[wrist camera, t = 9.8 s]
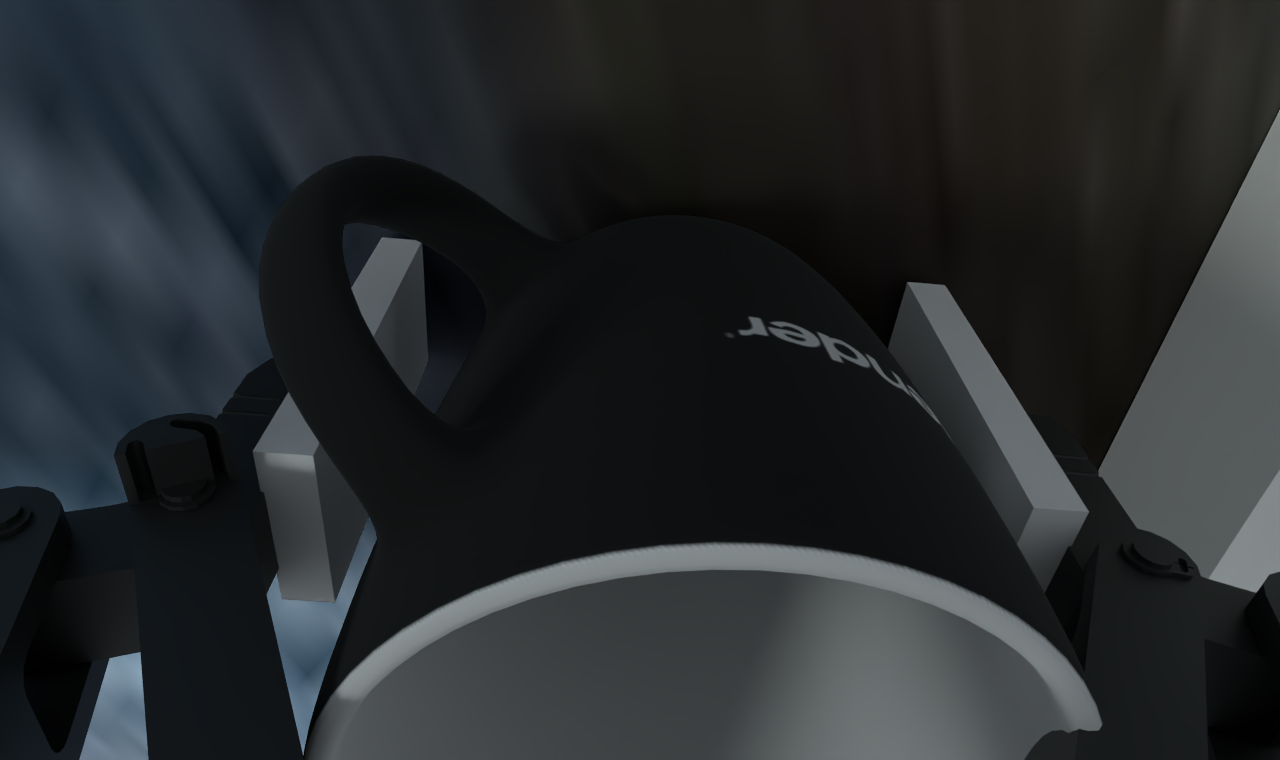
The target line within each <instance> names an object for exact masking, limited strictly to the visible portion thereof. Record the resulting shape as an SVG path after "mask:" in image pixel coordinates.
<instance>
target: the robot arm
mask: <svg viewBox="0 0 1280 760" xmlns="http://www.w3.org/2000/svg"><path fill="white" fill-rule="evenodd" d="M351 289H352V291H353V294H354V296H355V299H356V301H357V304H358V307H359V309H360V312H361V314H362V316H363V318H364V320H365V322H366V324H367V326H368V328H369V329H370V331H371V333H372V335H373V337H374V339H375V341H376V342H377V344H378V346H379V347H380V349H381V350H382V352H383V353H384V355H385V357H386V358H387V360H388V361H389V363H390V364H391V366H392V367H393V369H394V370H395V371H396V373H397V374H398V375H399V377H400V378H401V380H402V381H403V382H404V384H405V385H406V386H407V388H408V389H409V390H410V391H411V392H412V393H413V395H414V396H415V394H416V391H417V389H418V386H419V383H420V381H421V378H422V376H423V373H424V370H425V368H426V365H427V363H428V347H427V327H426V308H425V288H424V269H423V249H422V243H420V242H419V241H417V240H408V239H396V238H385V237H382V238H381V240H380V241H379V243H378V245H377V246H376V248H375V250H374V251H373V253H372V255H371V256H370V258H369V260H368V261H367V263H366V265H365V266H364V268H363V270H362V271H361V273H360V275H359V276H358V278H357V280H356V281H355V283H354V284H353V286H352V288H351ZM888 350H889V352H890V353H891V354H892V356H893V357H894V358H895V360H896V361H897V362H898V364H899V365H900V366H901V368H902V369H903V371H904V372H905V373H906V375H907V376H908V378H909V379H910V380H911V382H912V383H913V385H914V386H915V387H916V389H917V390H918V392H919V393H920V394H921V396H922V397H923V398H924V400H925V401H926V403H927V404H928V406H929V407H930V409H931V410H932V411H933V413H934V414H935V416H936V417H937V419H938V420H939V422H940V423H941V425H942V426H943V427H944V429H945V430H946V432H947V433H948V435H949V436H950V438H951V439H952V441H953V442H954V444H955V445H956V447H957V448H958V450H959V451H960V453H961V454H962V456H963V457H964V459H965V460H966V462H967V464H968V465H969V467H970V468H971V470H972V471H973V473H974V475H975V476H976V478H977V479H978V481H979V482H980V484H981V486H982V487H983V489H984V490H985V492H986V494H987V495H988V497H989V499H990V500H991V502H992V503H993V505H994V507H995V508H996V510H997V512H998V513H999V515H1000V517H1001V518H1002V520H1003V522H1004V523H1005V525H1006V527H1007V528H1008V530H1009V532H1010V533H1011V535H1012V537H1013V538H1014V540H1015V542H1016V544H1017V545H1018V547H1019V549H1020V551H1021V552H1022V554H1023V556H1024V557H1025V559H1026V561H1027V563H1028V564H1029V566H1030V568H1031V570H1032V571H1033V573H1034V575H1035V577H1036V579H1037V580H1038V582H1039V584H1040V586H1041V588H1042V589H1043V591H1044V593H1045V595H1046V597H1047V599H1048V600H1049V602H1050V604H1051V606H1052V608H1053V610H1054V612H1055V614H1056V616H1057V618H1058V620H1059V622H1060V624H1061V625H1062V627H1063V629H1064V631H1065V633H1066V635H1067V637H1068V639H1069V641H1070V643H1071V645H1072V647H1073V649H1074V651H1075V653H1076V655H1077V657H1078V659H1079V662H1080V664H1081V666H1082V668H1083V670H1084V672H1085V675H1086V677H1087V679H1088V681H1089V683H1090V685H1091V688H1092V691H1093V694H1094V697H1095V700H1096V704H1097V707H1098V710H1099V713H1100V717H1101V720H1102V723H1103V724H1102V726H1101V728H1100V729H1099V731H1087V730H1082V729H1078V730H1075V731H1072V732H1070V733H1068V732H1065V731H1063V730H1057V731H1053V730H1052V731H1051V732H1049V733H1047V734H1045V735H1044V736H1042V737H1041V738H1040V740H1039V741H1038V742H1037V743H1036V744H1035V745H1034V746H1033V747H1032V749H1031V750H1030V752H1029V753H1028V755H1027V756H1026V758H1025V759H1024V760H1280V572H1277V573H1273V574H1269V576H1268V577H1267V579H1266V580H1265V581H1264V583H1263V584H1262V586H1261V587H1260V589H1259V590H1258V591H1257V593H1255V592H1252V591H1248V590H1245V589H1241V588H1238V587H1234V586H1231V585H1228V584H1224V583H1221V582H1217V581H1214V580H1210V579H1207V578H1204V577H1202V576H1201V575H1200V572H1199V569H1198V566H1197V565H1196V564H1195V563H1194V561H1193V560H1192V559H1191V558H1190V557H1189V556H1188V554H1187V553H1186V552H1184V551H1183V550H1182V549H1180V548H1179V547H1178V546H1176V545H1175V544H1173V543H1172V542H1171V541H1169V540H1167V539H1165V538H1163V537H1161V536H1158V535H1156V534H1154V533H1152V532H1149V531H1145V530H1141V529H1137V527H1136V526H1135V524H1134V523H1133V522H1132V520H1131V519H1130V517H1129V516H1128V514H1127V513H1126V511H1125V510H1124V508H1123V507H1122V506H1121V504H1120V503H1119V501H1118V500H1117V498H1116V497H1115V495H1114V494H1113V492H1112V491H1111V490H1110V488H1109V487H1108V485H1107V484H1106V482H1105V481H1104V479H1103V478H1102V477H1099V472H1098V471H1097V469H1096V468H1095V466H1094V465H1093V463H1092V462H1091V460H1087V457H1088V456H1087V455H1086V453H1085V452H1084V450H1083V449H1082V447H1081V446H1080V444H1079V443H1078V442H1077V440H1076V439H1075V437H1074V436H1073V435H1072V434H1071V433H1069V432H1068V431H1067V430H1066V429H1064V428H1063V427H1062V426H1061V425H1059V424H1058V423H1057V422H1056V421H1054V420H1053V419H1052V418H1050V417H1047V416H1034V415H1027V413H1026V412H1025V410H1024V409H1023V407H1022V406H1021V404H1020V402H1019V401H1018V399H1017V398H1016V396H1015V395H1014V393H1013V391H1012V390H1011V388H1010V387H1009V385H1008V384H1007V382H1006V380H1005V379H1004V377H1003V376H1002V374H1001V372H1000V371H999V369H998V368H997V366H996V365H995V363H994V361H993V360H992V358H991V357H990V355H989V354H988V352H987V350H986V349H985V347H984V346H983V344H982V343H981V341H980V339H979V338H978V336H977V335H976V333H975V332H974V330H973V328H972V327H971V325H970V324H969V322H968V320H967V319H966V317H965V316H964V314H963V313H962V311H961V309H960V308H959V306H958V305H957V303H956V302H955V300H954V298H953V297H952V295H951V294H950V292H949V291H948V289H947V287H946V286H945V285H937V284H926V283H914V282H907V285H906V288H905V292H904V295H903V298H902V302H901V305H900V309H899V312H898V315H897V319H896V322H895V326H894V329H893V332H892V336H891V339H890V343H889V346H888ZM114 458H115V461H116V464H117V467H118V470H119V474H120V477H121V480H122V483H123V486H124V490H125V493H126V496H127V499H128V502H126V503H121V504H116V505H112V506H105V507H98V508H91V509H84V510H77V511H70V512H64V510H63V507H62V504H61V502H60V501H59V499H58V498H57V497H56V496H55V494H54V493H53V492H50V491H47V490H45V489H42V488H39V487H23V486H16V487H10V488H5V489H0V760H79V758H80V755H81V752H82V748H83V745H84V742H85V738H86V735H87V732H88V728H89V725H90V722H91V718H92V715H93V711H94V708H95V705H96V701H97V698H98V695H99V691H100V688H101V685H102V681H103V678H104V675H105V671H106V668H107V665H108V661H109V658H112V657H117V656H122V655H127V654H132V653H137V652H141V664H142V677H143V691H144V704H145V717H146V730H147V744H148V757H149V760H304V757H303V753H302V749H301V744H300V740H299V736H298V731H297V727H296V722H295V718H294V714H293V709H292V705H291V700H290V696H289V692H288V687H287V683H286V679H285V674H284V670H283V665H282V661H281V657H280V652H279V648H278V644H277V639H276V635H275V630H274V626H273V622H272V617H271V613H270V608H269V604H268V600H267V595H266V594H267V592H268V590H269V588H270V586H271V584H272V582H273V579H274V577H275V575H276V573H277V577H278V582H279V587H280V592H281V597H282V599H287V600H303V601H319V602H334V603H335V601H336V599H337V596H338V593H339V591H340V588H341V586H342V583H343V580H344V578H345V575H346V573H347V570H348V567H349V565H350V562H351V560H352V557H353V555H354V552H355V549H356V547H357V544H358V542H359V539H360V536H361V534H362V531H363V529H364V526H365V523H366V521H367V518H368V516H369V515H368V513H367V512H366V510H365V509H364V507H363V505H362V504H361V502H360V501H359V499H358V497H357V496H356V495H355V493H354V492H353V490H352V489H351V487H350V486H349V485H348V483H347V482H346V480H345V479H344V477H343V476H342V475H341V473H340V472H339V470H338V469H337V468H336V466H335V465H334V463H333V462H332V460H331V459H330V458H329V456H328V455H327V453H326V452H325V450H324V449H323V447H322V446H321V444H320V443H319V441H318V440H317V438H316V437H315V435H314V434H313V432H312V431H311V429H310V428H309V426H308V425H307V423H306V422H305V420H304V418H303V416H302V415H301V413H300V411H299V410H298V408H297V406H296V405H295V403H294V401H293V399H292V398H291V396H290V394H289V392H288V390H287V388H286V386H285V383H284V381H283V379H282V377H281V375H280V373H279V371H278V369H277V366H276V364H275V361H274V358H271V359H270V360H268V361H267V362H265V363H264V364H262V365H261V366H259V367H258V368H256V369H255V370H253V371H252V372H250V373H248V374H247V375H246V377H245V378H244V380H243V381H242V382H241V384H240V385H239V387H238V388H237V390H236V391H235V392H234V396H233V398H230V400H229V401H228V403H227V404H226V405H225V407H224V408H223V412H222V414H219V415H218V417H217V418H216V419H215V418H213V417H211V416H208V415H201V414H193V413H187V414H176V415H168V416H164V417H161V418H158V419H154V420H151V421H148V422H146V423H144V424H142V425H140V426H138V427H136V428H135V429H133V430H131V431H129V432H128V433H127V434H126V435H125V436H124V437H123V438H122V439H121V440H120V441H119V442H118V444H117V448H116V451H115V454H114Z"/></svg>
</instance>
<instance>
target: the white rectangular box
mask: <svg viewBox="0 0 1280 760" xmlns="http://www.w3.org/2000/svg"><path fill="white" fill-rule="evenodd" d="M1098 472H1099V477H1102V478H1103V479H1104V481H1105V482H1106V484H1107V485H1108V487H1109V488H1110V490H1111V491H1112V492H1113V494H1114V495H1115V497H1116V498H1117V500H1118V501H1119V503H1120V504H1121V506H1122V507H1123V508H1124V510H1125V511H1126V513H1127V514H1128V516H1129V517H1130V519H1131V520H1132V522H1133V523H1134V524H1135V526H1136V527H1137V529H1141V530H1145V531H1149V532H1152V533H1154V534H1156V535H1158V536H1161V537H1163V538H1165V539H1167V540H1169V541H1171V542H1172V543H1173V544H1175V545H1176V546H1178V547H1179V548H1180V549H1182V550H1183V551H1184V552H1186V553H1187V554H1188V556H1189V557H1190V558H1191V559H1192V560H1193V561H1194V563H1195V564H1196V565H1197V566H1198V569H1199V572H1200V575H1201V576H1202V577H1204V578H1207V579H1210V580H1214V581H1217V582H1221V583H1224V584H1228V585H1231V586H1234V587H1238V588H1241V589H1245V590H1248V591H1252V592H1255V593H1257V591H1258V590H1259V589H1260V587H1261V586H1262V584H1263V583H1264V581H1265V580H1266V579H1267V577H1268V576H1269V574H1273V573H1277V572H1280V110H1279V112H1278V114H1277V116H1276V118H1275V120H1274V122H1273V124H1272V126H1271V128H1270V130H1269V132H1268V134H1267V136H1266V138H1265V140H1264V142H1263V144H1262V146H1261V148H1260V150H1259V152H1258V154H1257V156H1256V158H1255V160H1254V162H1253V164H1252V166H1251V168H1250V170H1249V172H1248V174H1247V176H1246V178H1245V180H1244V182H1243V184H1242V186H1241V188H1240V190H1239V192H1238V194H1237V196H1236V198H1235V200H1234V202H1233V204H1232V206H1231V208H1230V210H1229V212H1228V214H1227V216H1226V218H1225V220H1224V222H1223V224H1222V226H1221V228H1220V230H1219V232H1218V234H1217V236H1216V238H1215V240H1214V242H1213V244H1212V246H1211V248H1210V250H1209V252H1208V254H1207V256H1206V258H1205V260H1204V262H1203V264H1202V266H1201V268H1200V269H1199V271H1198V273H1197V275H1196V277H1195V279H1194V281H1193V283H1192V285H1191V287H1190V289H1189V291H1188V293H1187V295H1186V297H1185V299H1184V301H1183V303H1182V305H1181V307H1180V309H1179V311H1178V313H1177V315H1176V317H1175V319H1174V321H1173V323H1172V325H1171V327H1170V329H1169V331H1168V333H1167V335H1166V337H1165V339H1164V341H1163V343H1162V345H1161V347H1160V349H1159V351H1158V353H1157V355H1156V357H1155V359H1154V361H1153V363H1152V365H1151V367H1150V369H1149V371H1148V373H1147V375H1146V377H1145V379H1144V381H1143V383H1142V385H1141V387H1140V389H1139V391H1138V393H1137V395H1136V397H1135V399H1134V401H1133V403H1132V405H1131V407H1130V409H1129V411H1128V413H1127V415H1126V417H1125V419H1124V421H1123V423H1122V425H1121V427H1120V429H1119V431H1118V433H1117V435H1116V437H1115V438H1114V440H1113V442H1112V444H1111V446H1110V448H1109V450H1108V452H1107V454H1106V456H1105V458H1104V460H1103V462H1102V464H1101V466H1100V468H1099V470H1098Z"/></svg>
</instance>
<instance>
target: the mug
mask: <svg viewBox="0 0 1280 760" xmlns="http://www.w3.org/2000/svg"><path fill="white" fill-rule="evenodd" d="M349 223H365V224H371V225H376V226H380V227H383V228H387V229H390V230H393V231H396V232H399V233H401V234H403V235H406V236H408V237H410V238H413V239H415V240H417V241H419V242H420V243H422V244H424V245H426V246H428V247H430V248H432V249H433V250H435V251H437V252H438V253H440V254H441V255H443V256H444V257H446V258H448V259H449V260H450V261H452V262H453V263H454V264H455V265H457V266H458V267H459V268H461V269H462V270H463V271H464V272H465V273H466V274H467V275H468V276H469V277H470V278H471V280H472V281H473V282H474V284H475V285H476V287H477V288H478V290H479V292H480V294H481V296H482V298H483V300H484V303H485V307H486V320H485V324H484V328H483V330H482V332H481V334H480V336H479V338H478V340H477V341H476V343H475V345H474V347H473V348H472V350H471V351H470V353H469V355H468V357H467V358H466V360H465V362H464V363H463V365H462V367H461V369H460V370H459V372H458V374H457V376H456V377H455V379H454V381H453V383H452V385H451V387H450V388H449V390H448V392H447V394H446V396H445V398H444V399H443V401H442V403H441V405H440V407H439V409H438V411H437V413H436V414H435V415H434V414H433V413H432V412H430V411H429V410H427V408H426V407H425V406H424V405H423V404H422V403H421V402H420V401H419V400H418V399H417V398H416V397H415V396H414V395H413V393H412V392H411V391H410V390H409V389H408V388H407V386H406V385H405V384H404V382H403V381H402V380H401V378H400V377H399V375H398V374H397V373H396V371H395V370H394V369H393V367H392V366H391V364H390V363H389V361H388V360H387V358H386V357H385V355H384V353H383V352H382V350H381V349H380V347H379V346H378V344H377V342H376V341H375V339H374V337H373V335H372V333H371V331H370V329H369V328H368V326H367V324H366V322H365V320H364V318H363V316H362V314H361V312H360V309H359V307H358V304H357V301H356V299H355V296H354V294H353V291H352V289H351V286H350V282H349V278H348V274H347V271H346V267H345V263H344V257H343V249H342V235H343V229H344V225H345V224H349ZM259 298H260V304H261V310H262V315H263V321H264V326H265V331H266V336H267V339H268V342H269V345H270V349H271V352H272V355H273V358H274V361H275V364H276V366H277V369H278V371H279V373H280V375H281V377H282V379H283V381H284V383H285V386H286V388H287V390H288V392H289V394H290V396H291V398H292V399H293V401H294V403H295V405H296V406H297V408H298V410H299V411H300V413H301V415H302V416H303V418H304V420H305V422H306V423H307V425H308V426H309V428H310V429H311V431H312V432H313V434H314V435H315V437H316V438H317V440H318V441H319V443H320V444H321V446H322V447H323V449H324V450H325V452H326V453H327V455H328V456H329V458H330V459H331V460H332V462H333V463H334V465H335V466H336V468H337V469H338V470H339V472H340V473H341V475H342V476H343V477H344V479H345V480H346V482H347V483H348V485H349V486H350V487H351V489H352V490H353V492H354V493H355V495H356V496H357V497H358V499H359V501H360V502H361V504H362V505H363V507H364V509H365V510H366V512H367V513H368V515H369V517H370V519H371V521H372V523H373V526H374V528H375V531H376V536H377V540H376V543H375V545H374V547H373V549H372V552H371V554H370V557H369V559H368V562H367V564H366V566H365V569H364V571H363V574H362V576H361V579H360V581H359V584H358V586H357V589H356V591H355V594H354V597H353V599H352V602H351V604H350V607H349V610H348V613H347V615H346V618H345V621H344V623H343V626H342V629H341V631H340V634H339V637H338V640H337V642H336V645H335V648H334V650H333V653H332V656H331V658H330V661H329V664H328V667H327V670H326V673H325V676H324V679H323V682H322V685H321V688H320V692H319V695H318V698H317V701H316V705H315V708H314V712H313V715H312V719H311V722H310V726H309V730H308V735H307V740H306V744H305V749H304V756H303V757H304V760H1024V759H1025V758H1026V756H1027V755H1028V753H1029V752H1030V750H1031V749H1032V747H1033V746H1034V745H1035V744H1036V743H1037V742H1038V741H1039V740H1040V738H1041V737H1042V736H1044V735H1045V734H1047V733H1049V732H1051V731H1052V730H1053V731H1057V730H1063V731H1065V732H1068V733H1070V732H1072V731H1075V730H1078V729H1082V730H1087V731H1099V729H1100V728H1101V726H1102V724H1103V723H1102V720H1101V717H1100V713H1099V710H1098V707H1097V704H1096V700H1095V697H1094V694H1093V691H1092V688H1091V685H1090V683H1089V681H1088V679H1087V677H1086V675H1085V672H1084V670H1083V668H1082V666H1081V664H1080V662H1079V659H1078V657H1077V655H1076V653H1075V651H1074V649H1073V647H1072V645H1071V643H1070V641H1069V639H1068V637H1067V635H1066V633H1065V631H1064V629H1063V627H1062V625H1061V624H1060V622H1059V620H1058V618H1057V616H1056V614H1055V612H1054V610H1053V608H1052V606H1051V604H1050V602H1049V600H1048V599H1047V597H1046V595H1045V593H1044V591H1043V589H1042V588H1041V586H1040V584H1039V582H1038V580H1037V579H1036V577H1035V575H1034V573H1033V571H1032V570H1031V568H1030V566H1029V564H1028V563H1027V561H1026V559H1025V557H1024V556H1023V554H1022V552H1021V551H1020V549H1019V547H1018V545H1017V544H1016V542H1015V540H1014V538H1013V537H1012V535H1011V533H1010V532H1009V530H1008V528H1007V527H1006V525H1005V523H1004V522H1003V520H1002V518H1001V517H1000V515H999V513H998V512H997V510H996V508H995V507H994V505H993V503H992V502H991V500H990V499H989V497H988V495H987V494H986V492H985V490H984V489H983V487H982V486H981V484H980V482H979V481H978V479H977V478H976V476H975V475H974V473H973V471H972V470H971V468H970V467H969V465H968V464H967V462H966V460H965V459H964V457H963V456H962V454H961V453H960V451H959V450H958V448H957V447H956V445H955V444H954V442H953V441H952V439H951V438H950V436H949V435H948V433H947V432H946V430H945V429H944V427H943V426H942V425H941V423H940V422H939V420H938V419H937V417H936V416H935V414H934V413H933V411H932V410H931V409H930V407H929V406H928V404H927V403H926V401H925V400H924V398H923V397H922V396H921V394H920V393H919V392H918V390H917V389H916V387H915V386H914V385H913V383H912V382H911V380H910V379H909V378H908V376H907V375H906V373H905V372H904V371H903V369H902V368H901V366H900V365H899V364H898V362H897V361H896V360H895V358H894V357H893V356H892V354H891V353H890V352H889V350H888V349H887V348H886V346H885V345H884V344H883V343H882V341H881V340H880V339H879V338H878V336H877V335H876V334H875V333H874V332H873V330H872V329H871V328H870V327H869V326H868V324H867V323H866V322H865V321H864V320H863V319H862V317H861V316H860V315H859V314H858V313H857V312H856V311H855V310H854V308H853V307H852V306H851V305H850V304H849V303H848V302H847V301H846V300H845V299H844V298H843V296H842V295H841V294H840V293H839V292H838V291H837V290H836V289H835V288H834V287H833V286H832V285H831V284H830V283H829V282H828V281H826V280H825V279H824V278H823V277H822V276H821V275H820V274H819V273H818V272H816V271H815V270H814V269H813V268H812V267H811V266H810V265H808V264H807V263H806V262H805V261H803V260H802V259H801V258H799V257H798V256H797V255H795V254H794V253H792V252H791V251H789V250H788V249H787V248H785V247H783V246H782V245H780V244H778V243H776V242H774V241H773V240H771V239H769V238H767V237H765V236H764V235H761V234H759V233H757V232H754V231H752V230H750V229H747V228H745V227H742V226H738V225H735V224H732V223H729V222H725V221H721V220H716V219H711V218H706V217H698V216H689V215H662V216H649V217H643V218H637V219H631V220H627V221H623V222H619V223H616V224H612V225H610V226H607V227H604V228H601V229H598V230H596V231H594V232H591V233H589V234H587V235H585V236H583V237H581V238H578V239H577V240H575V241H573V242H570V243H568V244H563V243H557V242H554V241H551V240H548V239H546V238H544V237H541V236H539V235H537V234H535V233H534V232H532V231H530V230H528V229H526V228H525V227H523V226H522V225H520V224H519V223H517V222H515V221H514V220H512V219H511V218H509V217H508V216H507V215H505V214H504V213H502V212H501V211H500V210H498V209H497V208H495V207H494V206H493V205H491V204H490V203H488V202H487V201H485V200H484V199H483V198H481V197H480V196H478V195H477V194H475V193H474V192H472V191H470V190H469V189H467V188H466V187H464V186H462V185H461V184H459V183H457V182H456V181H454V180H452V179H450V178H448V177H446V176H444V175H443V174H441V173H439V172H436V171H434V170H432V169H429V168H427V167H425V166H422V165H420V164H416V163H413V162H410V161H406V160H403V159H398V158H391V157H384V156H357V157H352V158H349V159H345V160H342V161H339V162H336V163H333V164H331V165H328V166H325V167H324V168H322V169H321V170H319V171H318V172H316V173H315V174H313V175H312V176H310V177H309V178H307V179H306V180H305V181H304V182H302V183H301V184H300V185H298V186H297V187H296V188H295V190H294V191H293V192H292V193H291V195H290V196H289V197H288V198H287V199H286V201H285V202H284V203H283V205H282V206H281V207H280V209H279V210H278V211H277V213H276V214H275V216H274V219H273V221H272V223H271V226H270V228H269V230H268V233H267V235H266V238H265V241H264V244H263V248H262V253H261V259H260V265H259Z"/></svg>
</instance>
